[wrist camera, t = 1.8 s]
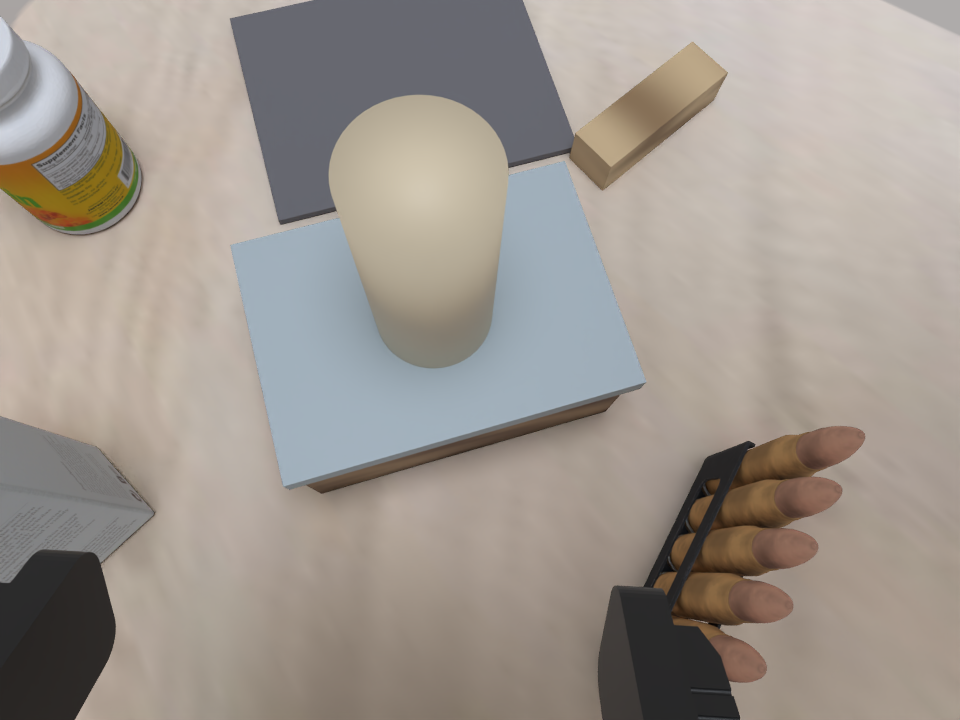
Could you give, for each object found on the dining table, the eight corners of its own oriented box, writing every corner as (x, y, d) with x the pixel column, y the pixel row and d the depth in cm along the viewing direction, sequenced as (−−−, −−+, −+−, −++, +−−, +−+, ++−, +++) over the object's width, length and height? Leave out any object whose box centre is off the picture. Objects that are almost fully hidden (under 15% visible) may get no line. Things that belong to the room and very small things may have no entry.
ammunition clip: (707, 455, 32) (843, 390, 21) (745, 476, 32) (905, 422, 20) (597, 681, 29) (683, 752, 18) (637, 706, 29) (752, 794, 18)
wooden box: (543, 235, 35) (556, 181, 30) (605, 411, 33) (630, 383, 28) (277, 305, 34) (246, 260, 29) (321, 493, 31) (296, 479, 26)
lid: (561, 174, 30) (615, -40, 20) (640, 388, 28) (749, 276, 17) (237, 256, 29) (108, 74, 18) (289, 489, 26) (174, 434, 16)
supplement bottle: (7, 193, 35) (-159, 54, 26) (91, 119, 36) (-37, -39, 27) (84, 259, 34) (-58, 141, 25) (167, 181, 35) (63, 40, 26)
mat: (506, -37, 39) (506, -43, 39) (576, 150, 36) (577, 145, 36) (232, 24, 38) (229, 18, 38) (280, 224, 35) (278, 220, 34)
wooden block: (678, 73, 38) (692, 41, 36) (711, 103, 38) (728, 72, 35) (568, 161, 36) (575, 133, 34) (601, 193, 36) (611, 167, 34)
